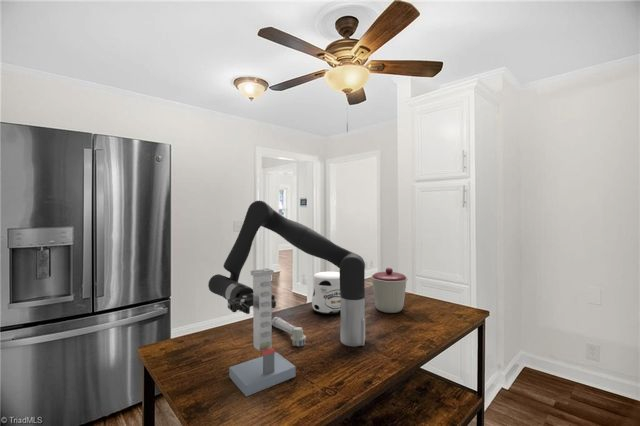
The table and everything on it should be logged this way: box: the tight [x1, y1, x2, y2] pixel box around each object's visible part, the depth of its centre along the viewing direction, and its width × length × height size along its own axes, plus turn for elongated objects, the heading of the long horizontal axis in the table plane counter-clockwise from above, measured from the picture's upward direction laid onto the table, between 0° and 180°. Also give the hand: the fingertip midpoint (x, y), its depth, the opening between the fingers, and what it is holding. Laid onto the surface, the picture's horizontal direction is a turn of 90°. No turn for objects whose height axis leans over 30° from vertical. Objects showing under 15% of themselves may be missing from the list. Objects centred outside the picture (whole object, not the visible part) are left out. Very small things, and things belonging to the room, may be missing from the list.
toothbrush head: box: [272, 316, 307, 347], centre depth 122 cm, size 5×7×25 cm
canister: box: [370, 267, 409, 314], centre depth 152 cm, size 18×18×21 cm
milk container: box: [311, 271, 340, 315], centre depth 150 cm, size 17×17×18 cm
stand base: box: [228, 347, 297, 397], centre depth 92 cm, size 16×12×10 cm
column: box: [250, 268, 275, 352], centre depth 91 cm, size 6×5×23 cm
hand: (261, 307), depth 92 cm, fingers open, 8 cm apart
